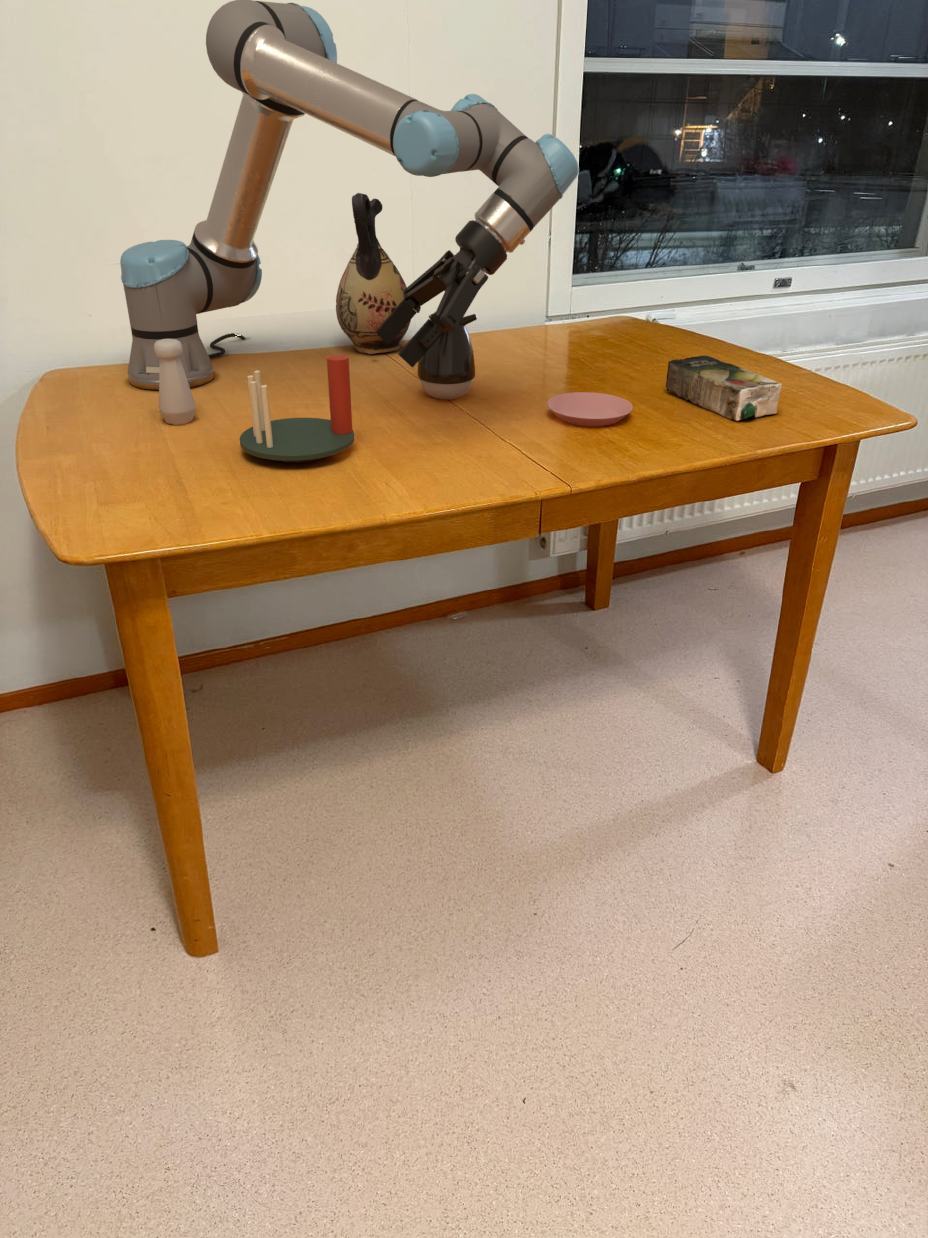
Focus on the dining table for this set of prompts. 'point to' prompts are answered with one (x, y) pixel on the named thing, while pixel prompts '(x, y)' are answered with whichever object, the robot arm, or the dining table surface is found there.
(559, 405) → the plate
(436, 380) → the pump dispenser
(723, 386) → the juice carton
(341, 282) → the ceramic jug
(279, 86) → the robot arm
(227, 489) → the dining table surface
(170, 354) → the salt shaker
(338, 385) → the drying rack
